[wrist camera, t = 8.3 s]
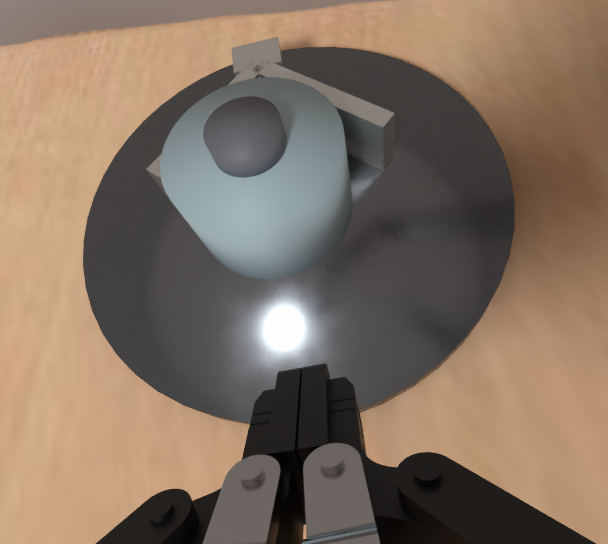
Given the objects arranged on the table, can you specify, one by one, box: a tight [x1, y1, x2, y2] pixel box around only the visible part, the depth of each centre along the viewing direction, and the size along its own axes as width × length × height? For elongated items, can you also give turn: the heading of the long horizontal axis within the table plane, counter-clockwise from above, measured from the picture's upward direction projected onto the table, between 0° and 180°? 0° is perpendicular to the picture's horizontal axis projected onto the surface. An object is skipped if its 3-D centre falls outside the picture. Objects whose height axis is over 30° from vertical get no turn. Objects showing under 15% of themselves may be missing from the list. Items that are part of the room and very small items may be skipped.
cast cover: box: [160, 77, 353, 279], centre depth 26 cm, size 10×10×8 cm
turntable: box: [83, 37, 514, 425], centre depth 28 cm, size 28×28×6 cm
